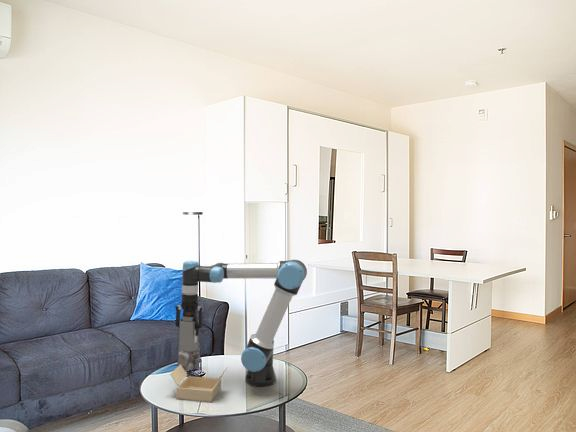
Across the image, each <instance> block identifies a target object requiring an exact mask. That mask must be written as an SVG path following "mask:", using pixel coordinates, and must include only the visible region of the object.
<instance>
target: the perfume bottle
mask: <svg viewBox="0 0 576 432" xmlns="http://www.w3.org/2000/svg"><path fill="white" fill-rule="evenodd" d="M181 318H182V320H183V321H181V320H180V328H179V327H178V330H179V331H178V335H179V336H178V337H179V338H178V351H179V350H183V351H194V350H195V349H197V348H198V343H199V335H198V336H197V342H196V343H194V336H195V322H194V321H193V318H194V317H192V315H191V312H186V313H185V316H181ZM198 323H199V319H198Z"/></svg>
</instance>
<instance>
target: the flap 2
mask: <svg viewBox="0 0 576 432" xmlns="http://www.w3.org/2000/svg"><path fill="white" fill-rule="evenodd" d="M227 369H228V367H226V368H225V370H224V371H222V372H221V374H220V376H219V377H218V378H217V379H218V380H217V382H216V383H215V385H216V384H217V383H218V381H219V380H220V379H221V380H222V377H223V375H224V374H225V373H226V371H227ZM215 385H214V386H213V388H214V387H215Z"/></svg>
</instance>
